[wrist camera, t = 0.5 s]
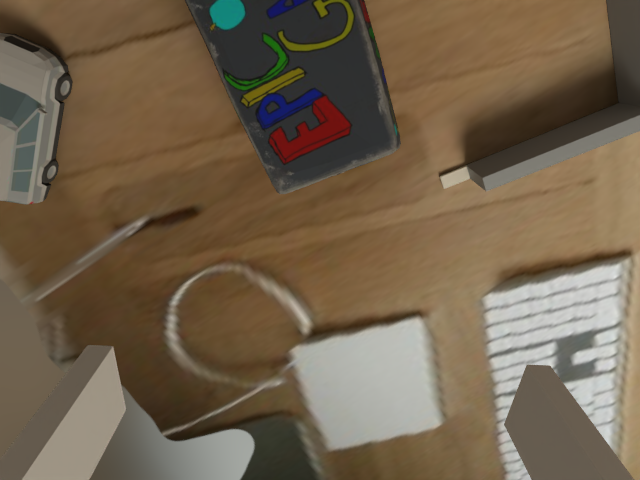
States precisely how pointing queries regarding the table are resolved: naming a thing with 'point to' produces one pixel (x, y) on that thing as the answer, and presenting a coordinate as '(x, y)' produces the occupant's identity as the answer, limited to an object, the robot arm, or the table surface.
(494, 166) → the bay
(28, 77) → the toy car
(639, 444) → the table surface
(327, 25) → the toy van
